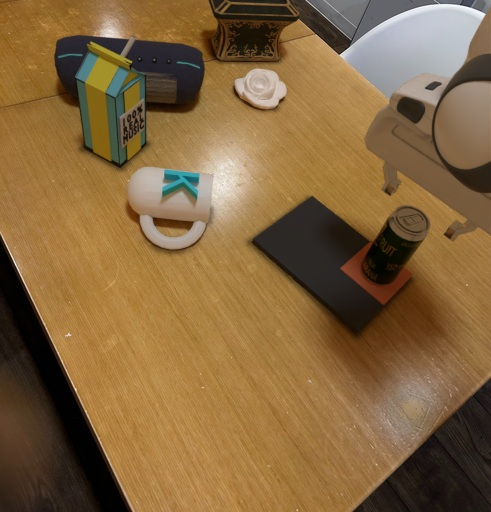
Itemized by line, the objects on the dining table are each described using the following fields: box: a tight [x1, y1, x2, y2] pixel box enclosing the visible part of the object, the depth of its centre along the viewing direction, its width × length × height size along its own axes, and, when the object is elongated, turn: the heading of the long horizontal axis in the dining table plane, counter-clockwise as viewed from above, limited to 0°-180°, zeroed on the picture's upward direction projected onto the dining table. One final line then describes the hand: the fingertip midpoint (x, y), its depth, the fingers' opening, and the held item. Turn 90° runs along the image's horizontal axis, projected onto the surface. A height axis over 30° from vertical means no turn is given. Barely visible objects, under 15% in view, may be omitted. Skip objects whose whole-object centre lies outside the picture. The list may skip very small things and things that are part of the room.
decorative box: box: [208, 0, 301, 62], centre depth 95 cm, size 20×10×20 cm, turn 103°
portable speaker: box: [53, 34, 206, 105], centre depth 85 cm, size 25×10×10 cm, turn 96°
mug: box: [126, 166, 214, 250], centre depth 71 cm, size 12×9×12 cm
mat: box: [251, 195, 414, 334], centre depth 74 cm, size 20×14×1 cm
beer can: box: [361, 204, 431, 286], centre depth 68 cm, size 5×5×12 cm
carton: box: [75, 35, 148, 169], centre depth 74 cm, size 7×8×18 cm
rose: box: [233, 68, 288, 110], centre depth 93 cm, size 10×4×10 cm
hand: (418, 213), depth 62 cm, fingers open, 8 cm apart
